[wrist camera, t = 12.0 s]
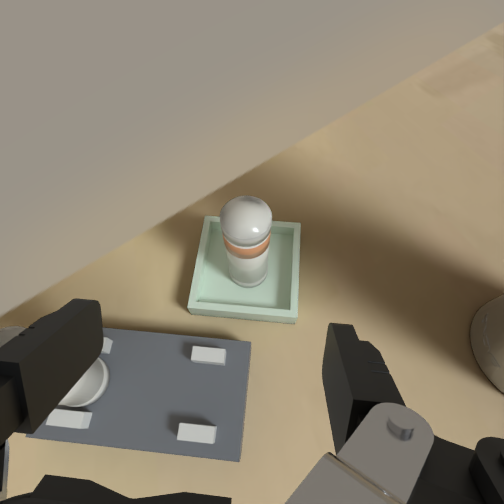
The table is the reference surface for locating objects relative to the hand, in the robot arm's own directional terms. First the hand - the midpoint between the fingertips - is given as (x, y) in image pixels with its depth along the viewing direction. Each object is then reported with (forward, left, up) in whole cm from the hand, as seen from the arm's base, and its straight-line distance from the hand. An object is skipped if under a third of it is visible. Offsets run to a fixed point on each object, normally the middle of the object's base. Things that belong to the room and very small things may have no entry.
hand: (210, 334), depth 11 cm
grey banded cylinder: (0, -10, -17) cm, 19 cm away
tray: (0, -10, -17) cm, 20 cm away
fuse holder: (+7, +1, -17) cm, 18 cm away
